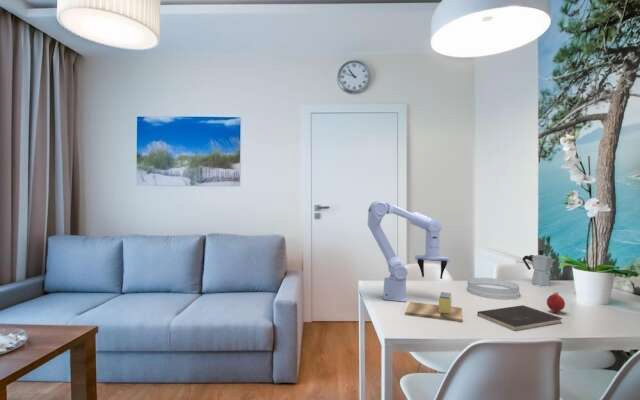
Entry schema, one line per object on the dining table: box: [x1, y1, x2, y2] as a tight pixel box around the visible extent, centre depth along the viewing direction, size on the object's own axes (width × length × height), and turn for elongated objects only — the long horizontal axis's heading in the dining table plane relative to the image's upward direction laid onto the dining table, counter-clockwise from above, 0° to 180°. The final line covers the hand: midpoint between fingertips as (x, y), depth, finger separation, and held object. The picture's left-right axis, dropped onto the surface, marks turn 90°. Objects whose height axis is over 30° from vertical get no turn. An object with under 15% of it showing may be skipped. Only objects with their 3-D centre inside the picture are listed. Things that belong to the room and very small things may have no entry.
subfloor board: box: [404, 301, 464, 323], centre depth 131 cm, size 20×14×1 cm
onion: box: [546, 291, 566, 313], centre depth 132 cm, size 6×6×8 cm
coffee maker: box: [522, 249, 556, 287], centre depth 177 cm, size 15×9×18 cm, turn 46°
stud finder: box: [438, 291, 452, 314], centre depth 130 cm, size 4×7×6 cm, turn 155°
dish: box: [466, 277, 520, 301], centre depth 160 cm, size 22×22×5 cm
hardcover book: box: [477, 305, 563, 331], centre depth 125 cm, size 16×23×2 cm
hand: (432, 277), depth 149 cm, fingers open, 7 cm apart
